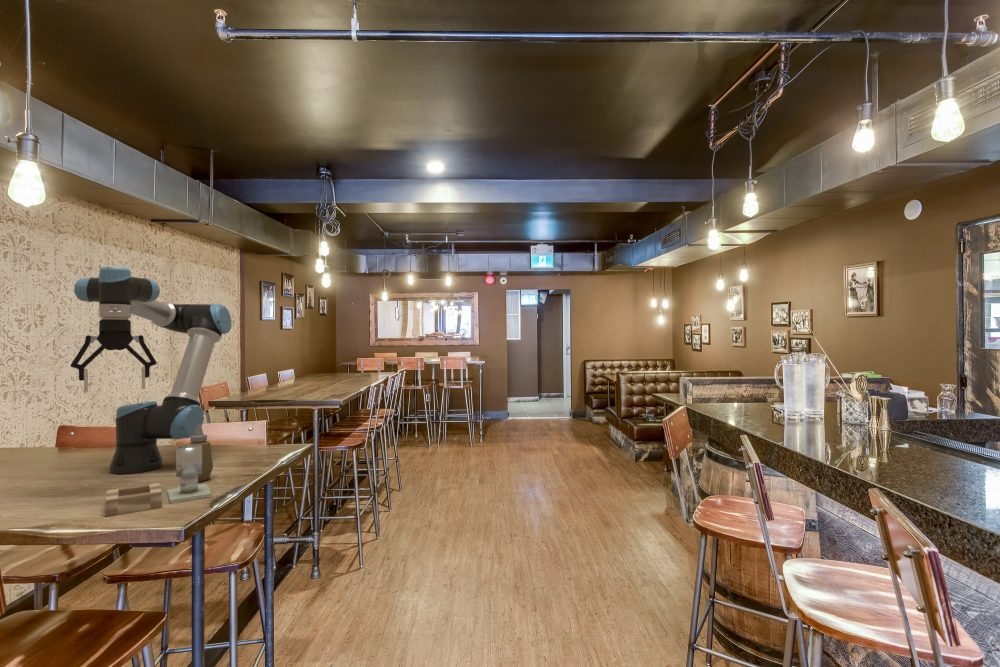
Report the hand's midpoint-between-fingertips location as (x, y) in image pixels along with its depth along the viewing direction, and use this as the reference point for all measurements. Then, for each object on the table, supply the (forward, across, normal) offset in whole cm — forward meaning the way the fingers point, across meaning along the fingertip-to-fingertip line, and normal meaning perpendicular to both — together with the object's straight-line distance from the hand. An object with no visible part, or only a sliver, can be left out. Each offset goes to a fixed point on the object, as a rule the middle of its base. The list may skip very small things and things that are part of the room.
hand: (115, 390), depth 150 cm
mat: (+30, +17, -16) cm, 39 cm away
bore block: (+30, +4, -18) cm, 36 cm away
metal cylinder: (+29, +17, -16) cm, 38 cm away
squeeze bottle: (+31, +21, 0) cm, 37 cm away
